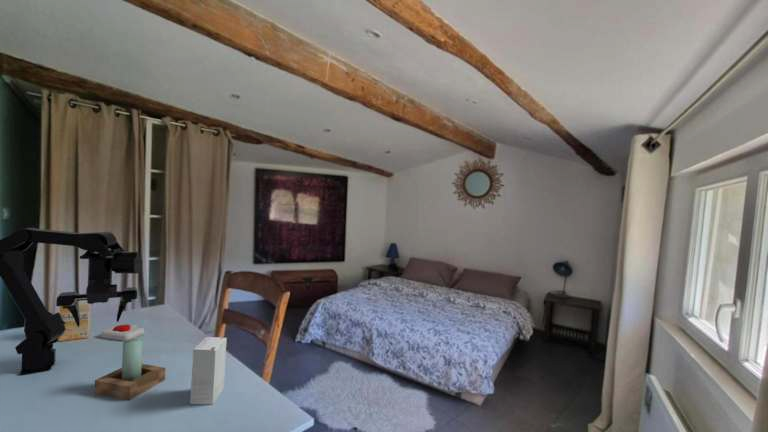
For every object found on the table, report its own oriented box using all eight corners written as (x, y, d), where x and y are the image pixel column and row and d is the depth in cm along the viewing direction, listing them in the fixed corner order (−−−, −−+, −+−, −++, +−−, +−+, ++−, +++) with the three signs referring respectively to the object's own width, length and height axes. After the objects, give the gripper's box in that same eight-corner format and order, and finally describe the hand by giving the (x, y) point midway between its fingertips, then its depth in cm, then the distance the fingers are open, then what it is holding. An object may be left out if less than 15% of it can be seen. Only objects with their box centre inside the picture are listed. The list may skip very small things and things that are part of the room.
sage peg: (118, 390, 94) (119, 345, 93) (125, 382, 98) (127, 338, 98) (136, 389, 95) (138, 344, 94) (143, 381, 99) (145, 338, 99)
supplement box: (57, 342, 122) (58, 305, 121) (60, 337, 126) (61, 301, 125) (88, 338, 126) (89, 302, 126) (90, 334, 130) (91, 299, 130)
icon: (150, 322, 135) (127, 331, 125) (150, 333, 135) (126, 343, 125) (123, 318, 137) (98, 327, 127) (123, 329, 137) (98, 338, 127)
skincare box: (202, 388, 97) (205, 336, 97) (225, 388, 98) (227, 336, 97) (189, 405, 89) (191, 348, 88) (213, 405, 89) (216, 348, 89)
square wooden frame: (94, 393, 92) (94, 380, 92) (132, 373, 103) (133, 362, 103) (129, 400, 90) (129, 386, 90) (164, 379, 101) (165, 367, 101)
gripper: (53, 281, 94) (52, 338, 94) (138, 276, 105) (136, 327, 105) (60, 273, 103) (58, 325, 103) (137, 269, 114) (135, 316, 114)
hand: (98, 323), depth 106 cm, fingers open, 9 cm apart
